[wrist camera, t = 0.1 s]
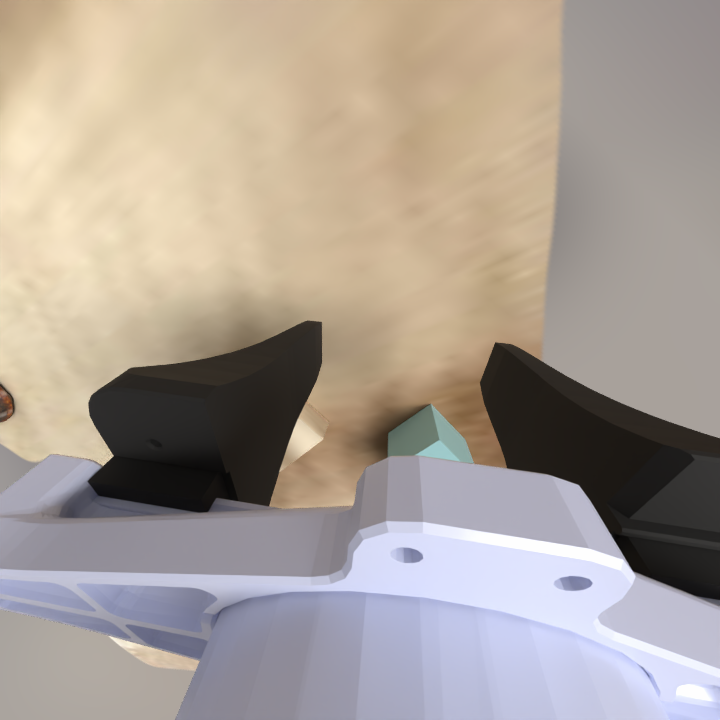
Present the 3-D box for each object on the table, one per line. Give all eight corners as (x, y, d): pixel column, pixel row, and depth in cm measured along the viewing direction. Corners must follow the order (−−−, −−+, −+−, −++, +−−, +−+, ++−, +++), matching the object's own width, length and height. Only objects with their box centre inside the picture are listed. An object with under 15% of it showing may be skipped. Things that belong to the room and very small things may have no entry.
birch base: (265, 471, 30) (255, 490, 27) (189, 410, 28) (171, 425, 25) (329, 422, 26) (323, 439, 24) (247, 348, 24) (232, 359, 22)
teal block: (421, 464, 27) (428, 509, 23) (388, 432, 26) (387, 472, 22) (464, 438, 26) (480, 481, 21) (430, 403, 25) (439, 439, 20)
